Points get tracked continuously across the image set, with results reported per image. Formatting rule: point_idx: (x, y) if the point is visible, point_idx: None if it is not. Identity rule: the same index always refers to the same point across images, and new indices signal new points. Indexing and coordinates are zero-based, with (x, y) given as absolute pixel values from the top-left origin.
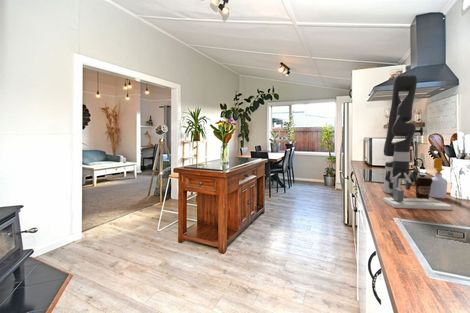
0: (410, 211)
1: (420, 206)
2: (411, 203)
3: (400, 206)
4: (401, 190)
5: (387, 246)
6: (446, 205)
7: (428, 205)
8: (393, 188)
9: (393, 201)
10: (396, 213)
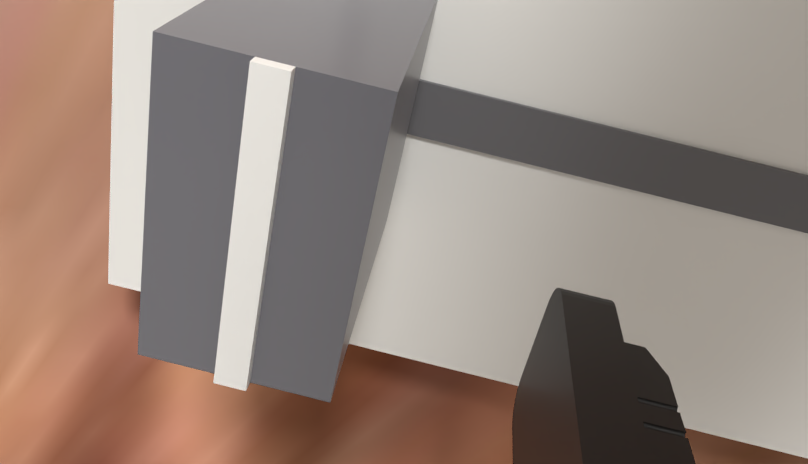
0: (295, 434)
1: None
2: (507, 307)
3: None
4: (243, 383)
5: None
6: None
7: (760, 440)
8: (155, 34)
9: None
10: (27, 460)
